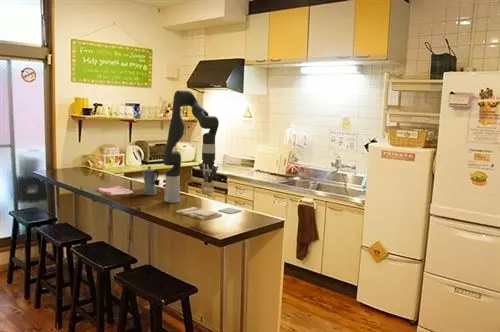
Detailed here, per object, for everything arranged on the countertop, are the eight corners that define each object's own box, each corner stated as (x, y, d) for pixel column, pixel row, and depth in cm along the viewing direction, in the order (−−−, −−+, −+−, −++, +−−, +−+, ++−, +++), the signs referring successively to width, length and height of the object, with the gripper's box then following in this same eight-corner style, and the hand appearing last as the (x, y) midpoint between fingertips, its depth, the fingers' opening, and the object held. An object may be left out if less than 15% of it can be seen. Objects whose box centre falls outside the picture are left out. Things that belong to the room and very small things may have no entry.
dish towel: (118, 189, 315) (118, 184, 315) (133, 194, 298) (133, 189, 298) (96, 191, 304) (96, 186, 303) (110, 197, 287) (110, 192, 286)
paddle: (201, 193, 238) (202, 173, 236) (210, 192, 243) (210, 171, 241) (204, 194, 236) (205, 173, 234) (213, 193, 241) (214, 172, 240)
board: (175, 212, 248) (175, 210, 248) (193, 208, 259) (193, 206, 259) (204, 220, 233) (204, 218, 233) (221, 216, 244) (221, 213, 243)
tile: (206, 215, 235) (206, 216, 235) (217, 212, 242) (217, 213, 242) (193, 212, 242) (193, 213, 242) (204, 209, 249) (204, 211, 249)
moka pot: (147, 192, 304) (147, 164, 302) (163, 195, 297) (163, 166, 294) (137, 194, 296) (137, 166, 294) (154, 197, 288) (154, 168, 286)
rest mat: (218, 211, 255) (218, 210, 255) (229, 208, 263) (229, 207, 263) (230, 214, 249) (230, 213, 249) (241, 211, 256) (241, 210, 256)
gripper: (195, 151, 238) (194, 181, 240) (212, 153, 229) (212, 184, 231) (204, 150, 243) (204, 179, 246) (222, 152, 235) (221, 183, 237)
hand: (208, 181), depth 239 cm, fingers closed on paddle, 2 cm apart
